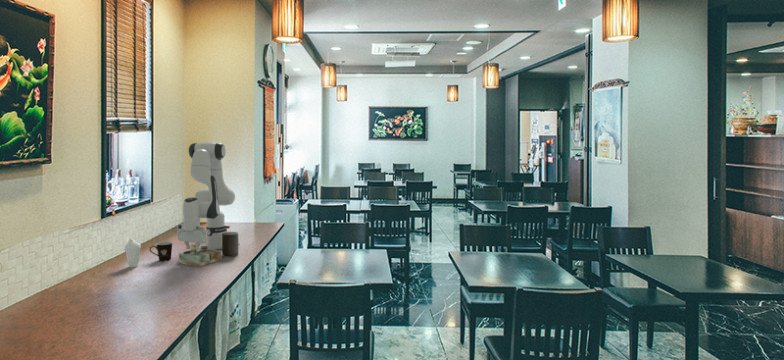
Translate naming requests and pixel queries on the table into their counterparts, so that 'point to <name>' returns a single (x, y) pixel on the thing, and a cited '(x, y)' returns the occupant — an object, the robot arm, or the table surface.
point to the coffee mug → (163, 250)
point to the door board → (200, 257)
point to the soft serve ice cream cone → (132, 252)
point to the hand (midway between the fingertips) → (192, 249)
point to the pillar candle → (229, 244)
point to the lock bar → (197, 250)
